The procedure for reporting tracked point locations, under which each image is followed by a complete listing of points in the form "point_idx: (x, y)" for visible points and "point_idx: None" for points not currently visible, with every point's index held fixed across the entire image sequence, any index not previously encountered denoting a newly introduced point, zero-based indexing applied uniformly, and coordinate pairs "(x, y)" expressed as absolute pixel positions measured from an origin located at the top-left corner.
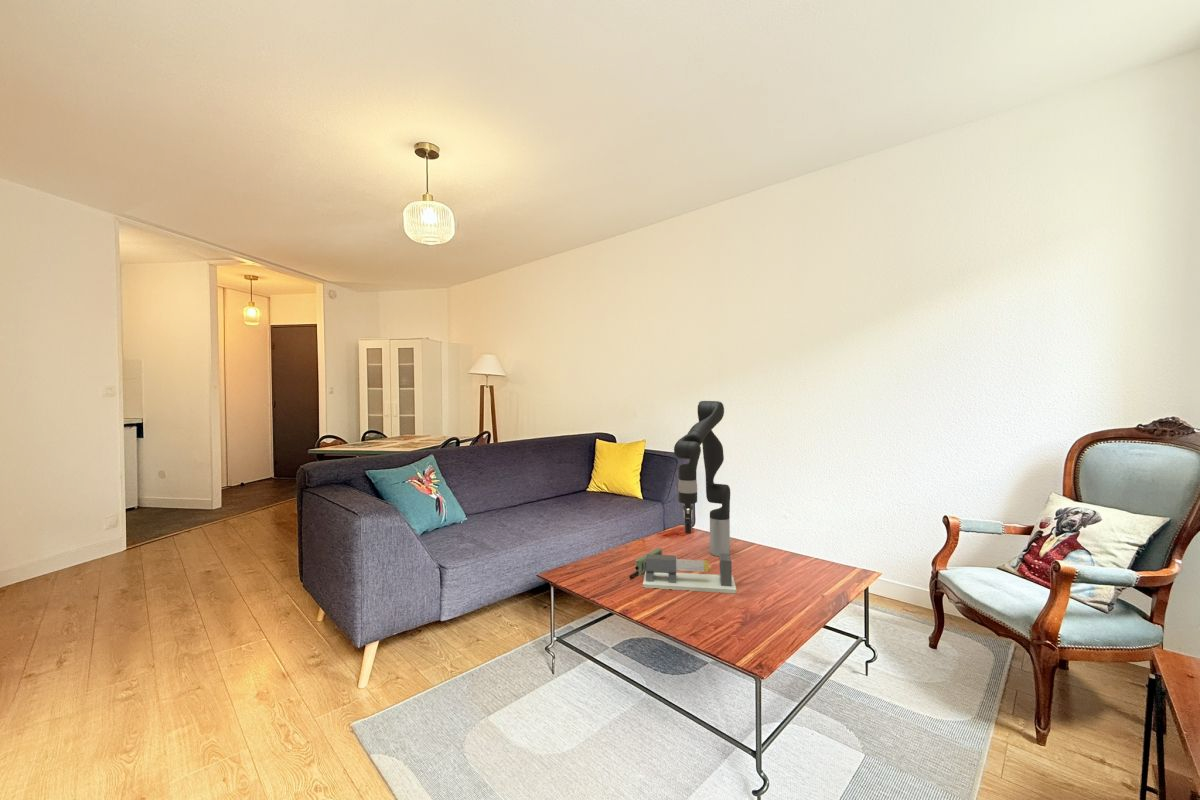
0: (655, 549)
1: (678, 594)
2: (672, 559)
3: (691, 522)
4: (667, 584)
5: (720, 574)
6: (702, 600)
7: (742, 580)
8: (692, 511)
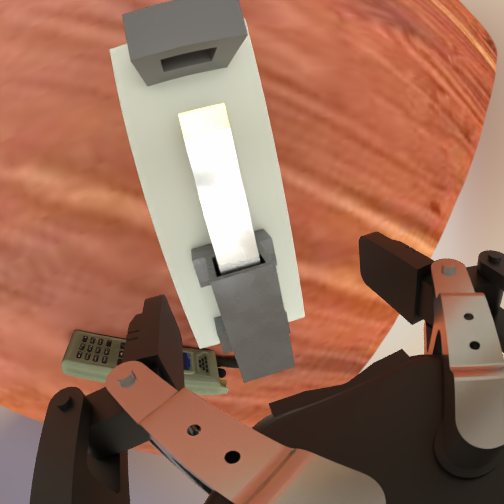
0: (84, 376)
1: (315, 200)
2: (270, 280)
3: (500, 254)
4: (285, 251)
5: (196, 66)
6: (333, 120)
7: (113, 23)
8: (495, 369)
